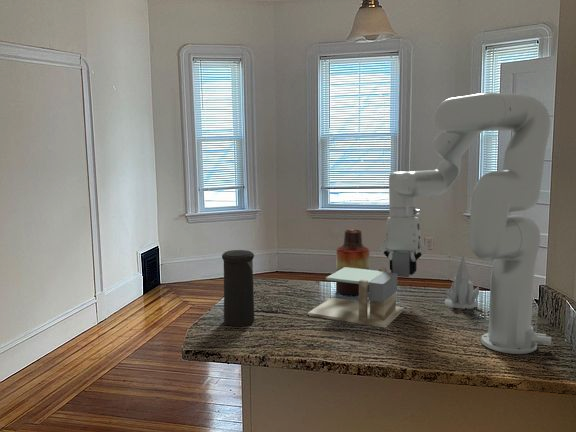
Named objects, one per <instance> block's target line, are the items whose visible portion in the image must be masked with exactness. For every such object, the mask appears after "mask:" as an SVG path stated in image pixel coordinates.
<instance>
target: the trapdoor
mask: <svg viewBox="0 0 576 432" xmlns="http://www.w3.org/2000/svg"><path fill="white" fill-rule="evenodd" d="M325 280H326V281H332V282H336V281H339V282H347V283H356V284H359V281H360V280H368V285H369V293H368V301H370V300H371V301H379V302H384V301H385V300H386V299H387V298H388V297H390V296H391V295H392V294H393V293H394V292H396V293H397V292H398V277H397V273H391V272H389V271H387V272H381V271H378V270H373V269H369V270H367V269H358V268H349V267H344V268H342V269H340V270H339V271H337V272H336V271H335V272H334V273H331V274H330V275H328V276H326V277H325Z"/></svg>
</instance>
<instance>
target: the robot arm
mask: <svg viewBox="0 0 576 432" xmlns="http://www.w3.org/2000/svg"><path fill="white" fill-rule="evenodd" d="M433 118H434V119H433V120H434V124H435V127H437V129H438V130H439V132H438V133H437V135H436V136H435V137H434V139H433V141H432V147H433V150H434V151H435V152H436V154H437V155H438V156H439V157H441V158H442V160H441V161H440V162H439V164H438V165H437V166H436V168H435V169H429V170H428V169H427V170H411V171H403V170H402V171H393V172H391V173H390V174H389V177H388V189H389V190H388V191H389V193H388V194H389V195H388V198H389V199H388V201H389V202H388V203H389V205H388V207H389V208H388V209H389V216H388V217H387V218H386V225H385V233H384V234H385V236H384V239H383V241H382V243H381V244H380V245H379V247H378V250H379V251H381V253H383V254H384V255H385V256H386V258H387V259H388V261H389V271H391V272H390V273H392V253H393V252H396V251H407V252H409V253H410V257H411V261H410V275H412V276H413V275H414V274H416V273H415V272H417V261H418V259H419V258H420V257H421V256H422V255H424V254H425V253H426V252H428V250H429V249H428V247H427V246H426V245H425V244H424V242H423V241H422V235H421V232H422V231H421V224H420V220H419V217H417V215H420V214H421V210H420V209H418V208H417V207H416V198H424V197H437V196H440V195H443V194H444V193H446V192H447V190H449V188H450V187H451V186H452V185H453V184H454V183H455V181H456V180H457V179H458V177H459V175H460V174H461V168H462V156H464V154H465V153H466V151H468V149H469V148H470V147H471V145H472V144H473V143H474V142H475V140H476V139H477V138H478V137H479V136H480V134H481V133H482V132H488V131H489V132H490V131H491V132H495V131H496V132H497V131H498V132H499V131H500V132H501V131H502V132H504V131H505V132H506V131H511V132H513V135H512V136H511V138H510V139H509V141H508V143H507V144H506V147H505V151H504V157H503V158H504V159H503V165H502V169H501V170H497V171H490V172H488V173H485V174H484V175H482V176H481V177H479V179H478V181H477V182H476V184H475V186H474V188H473V191H472V197H471V198H472V199H471V206H470V216H469V226H468V244H469V248H470V250H471V252H472V253H473V255H475V256H476V257H477V258H479V259H481V260H484V261H493V263H492V266H491V272H490V284H489V285H490V287H489V289H490V290H489V306H488V307H489V309H488V329H487V330H488V332H486V333H484V334H483V335H481V338H480V339H481V341H480V342H481V344H482V345H483V346H484V347H485V348H488V349H490V350H491V351H492V350H493V351H496V352H499V353H504V354H511V355H523V354H525V355H526V354H529V353H530V354H531V353H533V352H535V351H537V349H538V344H542V345H544V346H545V345H546V346H552V336H547V334H546V333H539V332H536V331H534V326H532V315H533V314H532V313H533V297H534V296H533V293H534V283H535V269H536V261H537V256H538V253H539V250H540V249H539V248H540V244H541V231H540V228H539V226H538V225H537V223H536V222H535V221H534V220H533V219H531V218H530V217H527V216H524V215H517V214H515V215H509V213H513V212H522V211H527V210H530V209H532V208H533V207H535V206H536V205H537V203H538V202H539V199H540V195H541V188H542V187H541V186H542V179H543V174H544V173H543V172H544V165H545V157H546V150H547V145H548V140H549V137H550V132H551V118H550V113H549V111H548V109H547V107H546V106H545V104H544V103H543V102H541V101H540V100H539V99H537V98H536V97H533V96H531V95H527V94H522V93H512V92H511V93H508V92H507V93H505V92H503V93H502V92H481V93H475V94H474V93H473V94H468V95H463V96H462V95H461V96H456V97H449V98H447V99H445V100H442V102H440V104H439V105H437V108H436V109H435V112H434V117H433ZM418 250H420V251H418ZM417 251H418V252H417Z"/></svg>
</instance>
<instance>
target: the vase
mask: <svg viewBox="0 0 576 432" xmlns="http://www.w3.org/2000/svg"><path fill="white" fill-rule="evenodd" d="M362 233H363V232H362V230H360V229H345V230H344V236H343V244H341V245H339V246H337V248H336V250H335V251H336V253H335V255H336V256H335V258H336V259H335V263H336V265H335V268H336V270H335V272H337V271H339V270H340V269H342V268H344V267H349V268H358V269H367V270H370V263H371V262H370V259H371V258H370V256H371V254H370V251H371V250H370V248H369V247H368V246H366V245H364V244H363V234H362ZM335 291H336V293H337V294H338V295H341V296H343V297H345V296H346V297H359V284H356V283H347V282H339V281H335ZM368 294H369V285H368Z"/></svg>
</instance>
